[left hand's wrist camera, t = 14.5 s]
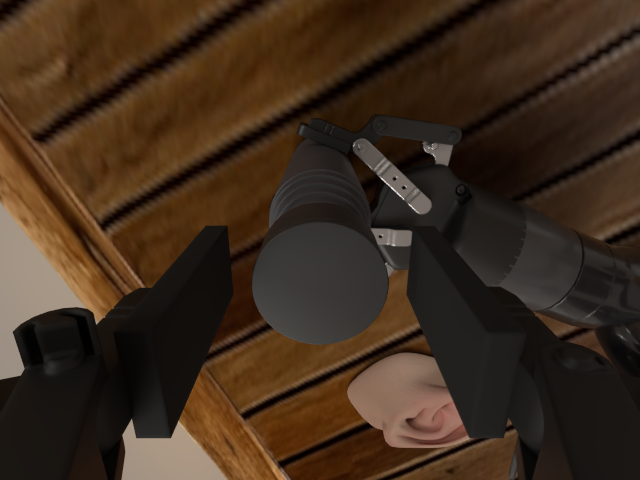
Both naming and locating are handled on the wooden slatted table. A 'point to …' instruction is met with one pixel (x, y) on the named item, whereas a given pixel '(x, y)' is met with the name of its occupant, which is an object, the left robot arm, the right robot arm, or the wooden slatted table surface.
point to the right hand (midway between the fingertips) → (285, 166)
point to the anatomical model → (408, 402)
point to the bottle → (319, 182)
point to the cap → (320, 274)
